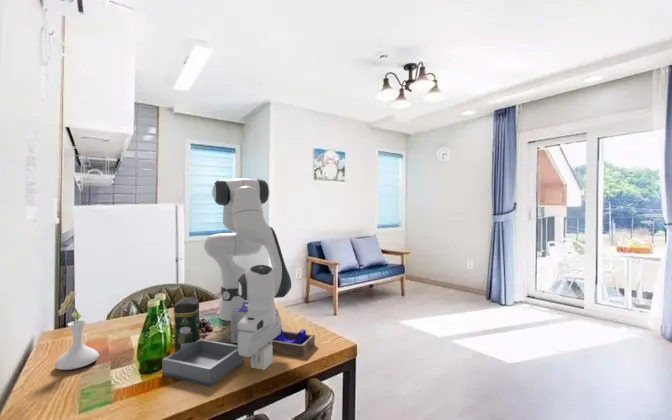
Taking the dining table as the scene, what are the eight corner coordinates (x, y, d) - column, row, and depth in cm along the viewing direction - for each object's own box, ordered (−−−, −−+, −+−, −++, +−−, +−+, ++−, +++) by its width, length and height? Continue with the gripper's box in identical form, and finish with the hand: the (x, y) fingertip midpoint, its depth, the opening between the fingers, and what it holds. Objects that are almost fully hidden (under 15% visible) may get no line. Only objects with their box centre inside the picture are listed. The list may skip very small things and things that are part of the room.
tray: (200, 352, 115) (200, 338, 115) (243, 361, 109) (243, 346, 109) (162, 375, 100) (162, 359, 100) (209, 386, 94) (209, 369, 94)
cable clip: (271, 345, 122) (271, 329, 122) (278, 340, 126) (278, 325, 126) (299, 350, 117) (299, 334, 117) (305, 345, 121) (305, 329, 121)
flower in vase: (61, 360, 109) (60, 286, 109) (102, 354, 114) (102, 282, 114) (46, 379, 98) (45, 296, 97) (92, 371, 102) (91, 292, 102)
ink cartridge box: (261, 339, 127) (261, 302, 127) (254, 345, 121) (254, 306, 121) (237, 337, 129) (237, 300, 129) (230, 343, 123) (230, 304, 123)
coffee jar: (178, 345, 121) (178, 295, 121) (201, 343, 123) (201, 294, 122) (171, 357, 112) (170, 303, 111) (196, 355, 113) (195, 302, 113)
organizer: (272, 337, 128) (272, 329, 128) (314, 344, 122) (314, 335, 122) (258, 348, 119) (258, 338, 119) (302, 356, 112) (302, 346, 112)
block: (259, 360, 110) (259, 342, 110) (272, 362, 108) (272, 344, 108) (250, 367, 105) (250, 348, 105) (264, 369, 103) (264, 351, 103)
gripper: (270, 305, 117) (270, 344, 117) (233, 325, 98) (234, 371, 98) (285, 307, 115) (285, 346, 115) (251, 328, 96) (252, 375, 96)
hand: (261, 358), depth 106 cm, fingers closed on block, 5 cm apart
